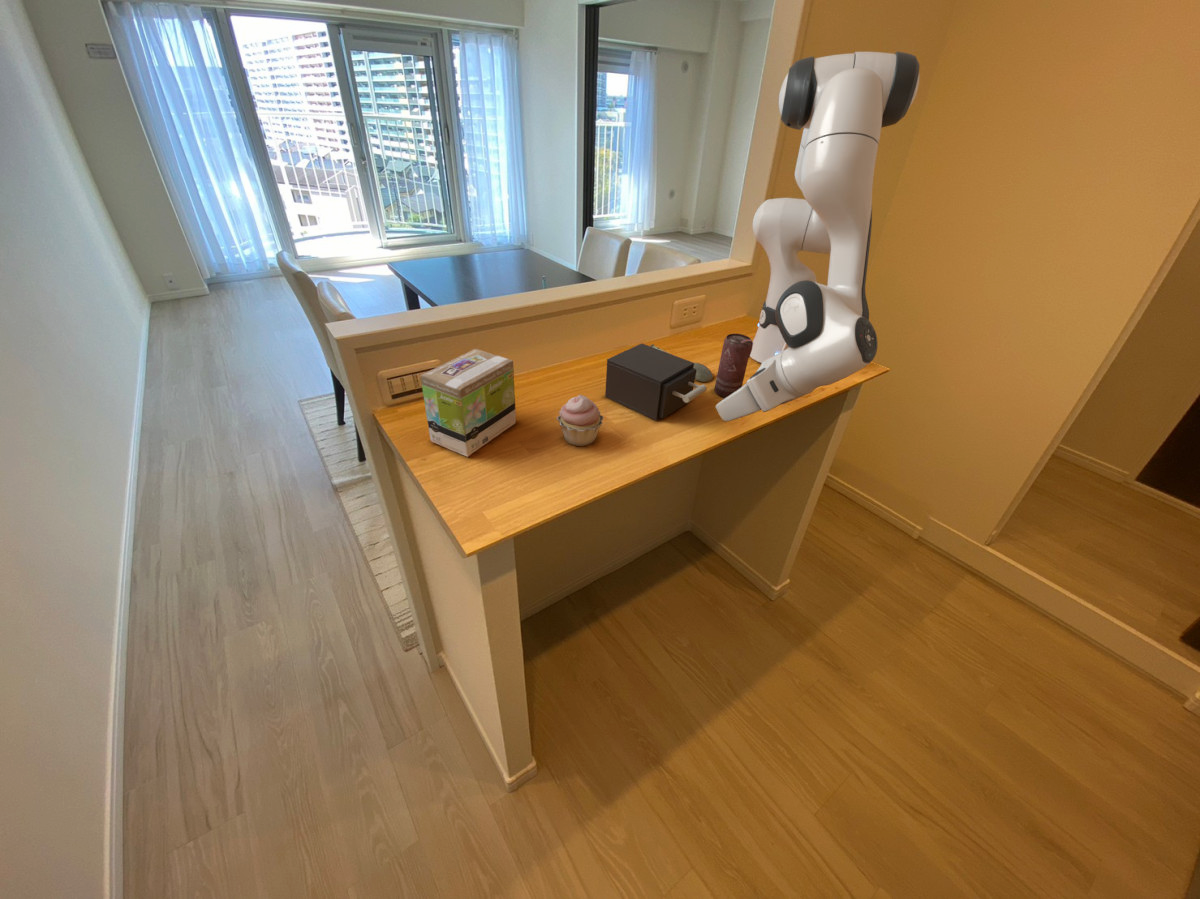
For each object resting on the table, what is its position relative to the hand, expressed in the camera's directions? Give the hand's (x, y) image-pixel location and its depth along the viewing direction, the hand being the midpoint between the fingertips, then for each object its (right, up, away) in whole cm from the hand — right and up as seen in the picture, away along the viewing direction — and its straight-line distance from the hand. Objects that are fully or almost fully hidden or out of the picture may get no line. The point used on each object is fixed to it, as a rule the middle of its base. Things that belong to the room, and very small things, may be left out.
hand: (725, 405), depth 100 cm
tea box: (-51, -6, 0) cm, 51 cm away
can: (+5, +4, +18) cm, 19 cm away
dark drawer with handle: (-12, +2, +11) cm, 16 cm away
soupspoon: (-5, +13, +29) cm, 32 cm away
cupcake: (-30, -7, 0) cm, 30 cm away
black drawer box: (-15, +3, +14) cm, 20 cm away
